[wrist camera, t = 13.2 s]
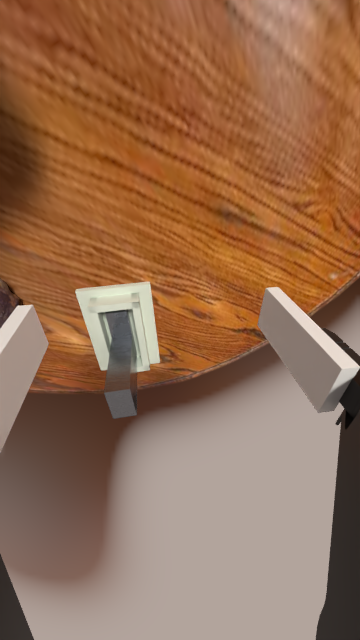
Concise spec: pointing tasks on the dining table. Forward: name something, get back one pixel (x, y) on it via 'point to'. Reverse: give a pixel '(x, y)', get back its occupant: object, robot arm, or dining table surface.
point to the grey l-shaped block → (121, 366)
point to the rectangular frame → (141, 318)
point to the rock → (6, 302)
